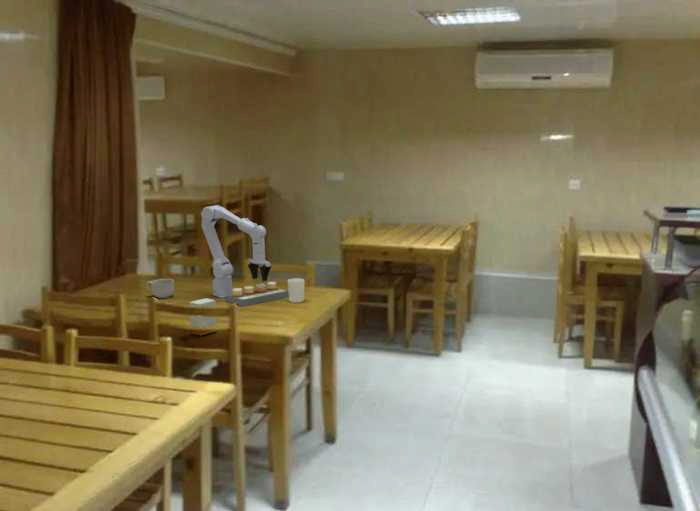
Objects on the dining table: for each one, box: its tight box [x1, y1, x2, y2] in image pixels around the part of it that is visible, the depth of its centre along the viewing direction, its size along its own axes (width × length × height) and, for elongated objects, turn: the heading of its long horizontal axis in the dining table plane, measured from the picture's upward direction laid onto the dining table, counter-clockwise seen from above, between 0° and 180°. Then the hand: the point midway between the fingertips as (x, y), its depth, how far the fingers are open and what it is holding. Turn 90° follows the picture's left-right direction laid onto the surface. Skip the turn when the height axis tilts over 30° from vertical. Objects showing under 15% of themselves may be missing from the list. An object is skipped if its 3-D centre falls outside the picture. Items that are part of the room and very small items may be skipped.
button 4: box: [266, 281, 277, 291], centre depth 322 cm, size 4×4×4 cm
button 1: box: [232, 287, 243, 298], centre depth 309 cm, size 4×4×4 cm
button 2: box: [243, 285, 255, 295], centre depth 313 cm, size 4×4×4 cm
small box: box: [188, 298, 218, 328], centre depth 259 cm, size 8×6×13 cm
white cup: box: [287, 277, 306, 304], centre depth 309 cm, size 8×8×10 cm
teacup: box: [146, 278, 175, 299], centre depth 323 cm, size 14×11×8 cm
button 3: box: [255, 283, 266, 293], centre depth 318 cm, size 4×4×4 cm
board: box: [225, 287, 289, 308], centre depth 314 cm, size 14×26×3 cm, turn 132°
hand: (259, 279), depth 316 cm, fingers open, 7 cm apart
